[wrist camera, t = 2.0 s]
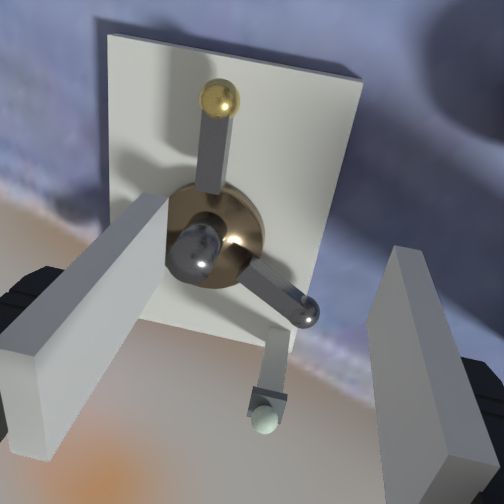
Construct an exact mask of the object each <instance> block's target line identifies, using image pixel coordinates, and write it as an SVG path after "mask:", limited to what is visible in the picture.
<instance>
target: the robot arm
mask: <svg viewBox="0 0 504 504" xmlns="http://www.w3.org/2000/svg"><path fill="white" fill-rule="evenodd" d="M168 202H169V198H168V197H163V196H158V195H153V194H149V193H144V192H143V193H142V194H141V195H140V196H139V197H138V198H137V199H136V200H135V201H134V202H133V203H132V204H131V205H130V206H129V207H128V208H127V209H126V210H125V211H124V212H123V213H122V214H121V215H120V216H119V217H118V218H117V219H116V220H115V221H114V222H113V223H112V224H111V225H110V226H109V227H108V228H107V229H106V230H105V231H104V232H103V233H102V234H101V235H100V236H99V237H98V238H97V239H96V240H95V241H94V242H93V243H92V244H91V245H90V246H89V247H88V248H87V249H86V250H85V251H84V252H83V253H82V254H81V255H80V256H79V257H78V258H77V259H76V260H75V261H74V262H73V263H72V264H71V265H70V266H69V267H68V268H67V269H66V270H62V269H58V268H54V267H49V266H45V267H43V268H41V269H39V270H37V271H34V272H32V273H30V274H28V275H26V276H24V277H23V278H22V279H21V280H20V281H18V282H17V283H16V284H15V285H14V286H13V287H12V288H10V290H9V292H8V293H7V292H6V293H5V294H4V295H3V296H1V297H0V442H1V441H2V440H3V438H4V437H5V436H6V434H7V437H8V442H9V447H10V452H11V453H14V454H18V455H22V456H26V457H30V458H33V459H37V460H41V461H46V462H49V461H50V460H51V458H52V456H53V455H54V453H55V451H56V450H57V448H58V447H59V445H60V443H61V442H62V440H63V438H64V437H65V435H66V434H67V432H68V430H69V429H70V427H71V426H72V424H73V422H74V421H75V419H76V418H77V416H78V414H79V413H80V411H81V409H82V408H83V406H84V405H85V403H86V401H87V400H88V398H89V397H90V395H91V393H92V391H93V390H94V388H95V387H96V385H97V384H98V382H99V380H100V379H101V377H102V376H103V374H104V372H105V371H106V369H107V367H108V366H109V364H110V363H111V361H112V359H113V358H114V356H115V355H116V353H117V351H118V350H119V348H120V346H121V345H122V343H123V341H124V340H125V338H126V337H127V335H128V334H129V332H130V330H131V328H132V327H133V325H134V324H135V322H136V321H137V319H138V317H139V316H140V314H141V313H142V311H143V309H144V308H145V306H146V305H147V303H148V301H149V300H150V298H151V296H152V295H153V293H154V292H155V290H156V288H157V287H158V285H159V284H160V282H161V280H162V279H163V277H164V268H165V252H166V235H167V219H168ZM366 323H367V332H368V342H369V351H370V360H371V369H372V379H373V388H374V397H375V406H376V416H377V425H378V434H379V443H380V452H381V462H382V471H383V480H384V489H385V499H386V504H504V386H503V384H502V382H501V380H500V379H499V378H498V377H497V376H496V375H495V374H494V372H493V371H492V370H491V369H490V368H489V367H488V366H487V365H486V363H485V362H482V361H477V360H473V359H468V358H464V357H460V355H459V352H458V349H457V347H456V344H455V341H454V338H453V336H452V333H451V330H450V327H449V325H448V322H447V319H446V316H445V314H444V311H443V308H442V305H441V303H440V300H439V297H438V294H437V292H436V289H435V286H434V283H433V281H432V278H431V275H430V272H429V270H428V267H427V264H426V261H425V259H424V256H423V253H422V251H421V250H416V249H411V248H406V247H402V246H397V245H394V247H393V250H392V252H391V255H390V258H389V260H388V263H387V266H386V269H385V271H384V274H383V277H382V279H381V282H380V285H379V288H378V290H377V293H376V296H375V298H374V301H373V304H372V307H371V309H370V312H369V315H368V317H367V320H366Z"/></svg>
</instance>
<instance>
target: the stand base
mask: <svg viewBox="0 0 504 504" xmlns="http://www.w3.org/2000/svg"><path fill="white" fill-rule="evenodd" d="M107 42H108V113H109V184H110V225H111V224H112V223H113V222H114V221H115V220H116V219H117V218H118V217H119V216H120V215H121V214H122V213H123V212H124V211H125V210H126V209H127V208H128V207H129V206H130V205H131V204H132V203H133V202H134V201H135V200H136V199H137V198H138V197H139V196H140V195H141V194H142V193H143V192H144V193H149V194H153V195H158V196H163V197H168V198H169V197H170V195H171V194H172V193H173V192H175V191H176V190H177V189H179V188H180V187H182V186H184V185H186V184H189V183H192V182H195V179H196V168H197V158H198V147H199V136H200V125H201V114H202V110H201V108H200V105H199V94H200V91H201V89H202V87H203V86H204V85H205V84H206V83H207V82H208V81H210V80H212V79H215V78H223V79H227V80H229V81H230V82H232V83H233V84H234V85H235V86H236V87H237V89H238V91H239V94H240V107H239V110H238V112H237V113H236V115H235V116H234V118H233V126H232V134H231V141H230V149H229V157H228V164H227V172H226V180H225V184H227V185H229V186H232V187H233V188H235V189H237V190H239V191H240V192H242V193H243V194H244V195H246V196H247V197H248V198H249V199H250V200H251V201H252V203H253V204H254V205H255V206H256V208H257V209H258V211H259V213H260V215H261V217H262V220H263V223H264V228H265V242H264V247H263V250H262V254H261V257H260V259H261V260H262V261H263V262H265V263H266V264H267V265H268V266H270V267H271V268H272V269H273V270H275V271H276V272H277V273H279V274H280V275H281V276H282V277H284V278H285V279H286V280H287V281H289V282H290V283H291V284H293V285H294V286H295V287H296V288H298V289H299V290H300V291H301V292H303V293H304V294H305V295H306V296H307V292H308V288H309V285H310V281H311V277H312V273H313V270H314V266H315V262H316V259H317V255H318V251H319V247H320V244H321V240H322V236H323V233H324V229H325V225H326V221H327V218H328V214H329V210H330V207H331V203H332V199H333V195H334V192H335V188H336V184H337V181H338V177H339V173H340V169H341V166H342V162H343V158H344V155H345V151H346V147H347V143H348V140H349V136H350V132H351V128H352V125H353V121H354V117H355V114H356V110H357V106H358V102H359V99H360V95H361V91H362V88H363V84H364V82H363V80H362V79H358V78H353V77H348V76H342V75H337V74H332V73H326V72H321V71H316V70H310V69H305V68H300V67H294V66H289V65H284V64H279V63H273V62H268V61H263V60H257V59H252V58H247V57H241V56H236V55H231V54H225V53H220V52H215V51H209V50H204V49H199V48H194V47H188V46H183V45H178V44H172V43H167V42H162V41H156V40H151V39H146V38H140V37H135V36H130V35H124V34H119V33H115V34H108V35H107ZM138 318H140V319H145V320H149V321H154V322H158V323H162V324H167V325H171V326H176V327H180V328H184V329H189V330H193V331H198V332H202V333H206V334H211V335H215V336H219V337H224V338H228V339H233V340H237V341H241V342H246V343H250V344H255V345H259V346H263V347H265V349H264V354H263V359H262V365H261V369H260V374H259V379H258V384H257V387H254V386H253V390H252V395H251V399H250V404H249V408H248V413H247V416H248V417H251V423H252V426H253V428H254V429H255V430H256V431H257V432H259V433H261V434H268V433H271V432H272V431H274V429H275V428H276V427H277V424H280V423H281V420H282V416H283V413H284V409H285V405H286V402H287V394H284V393H283V388H284V380H285V372H286V364H287V356H288V352H290V353H291V352H292V348H293V344H294V340H295V337H296V333H297V329H298V328H297V327H295V326H294V325H292V324H291V323H290V321H289V320H288V319H286V318H285V317H284V316H282V315H281V314H280V313H279V312H277V311H276V310H275V309H273V308H272V307H271V306H269V305H268V304H267V303H265V302H264V301H263V300H262V299H260V298H259V297H258V296H256V295H255V294H254V293H252V292H251V291H250V290H248V289H247V288H246V287H245V286H243V285H242V284H241V283H238V284H236V285H234V286H231V287H227V288H222V289H207V288H201V287H198V286H194V285H192V284H187V283H183V282H181V281H179V280H177V279H176V278H175V277H174V276H173V275H172V274H171V273H170V272H169V270H168V268H167V267H166V266H165V268H164V277H163V279H162V280H161V282H160V284H159V285H158V287H157V288H156V290H155V292H154V293H153V295H152V296H151V298H150V300H149V301H148V303H147V305H146V306H145V308H144V309H143V311H142V313H141V314H140V316H139V317H138Z"/></svg>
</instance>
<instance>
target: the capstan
mask: <svg viewBox="0 0 504 504" xmlns="http://www.w3.org/2000/svg"><path fill="white" fill-rule="evenodd" d="M199 105H200V108H201V110H202V114H201V125H200V136H199V147H198V158H197V168H196V179H195V182H192V183H189V184H186V185H184V186H182V187H180V188H179V189H177V190H176V191H175V192H173V193H172V194H171V195H170V197H169V202H168V219H167V235H166V252H165V266H166V267H167V268H168V270H169V272H170V273H171V274H172V275H173V276H174V277H175V278H176V279H177V280H179V281H181V282H183V283H187V284H192V285H194V286H198V287H201V288H207V289H222V288H227V287H231V286H234V285H236V284H238V283H241V284H242V285H243V286H245V287H246V288H247V289H248V290H250V291H251V292H252V293H254V294H255V295H256V296H258V297H259V298H260V299H262V300H263V301H264V302H265V303H267V304H268V305H269V306H271V307H272V308H273V309H275V310H276V311H277V312H279V313H280V314H281V315H282V316H284V317H285V318H286V319H288V320H289V321H290V323H291V324H292V325H294V326H295V327H297V328H301V329H306V328H310V327H312V326H313V325H314V324H315V323H316V322H317V321H318V319H319V316H320V309H319V306H318V304H317V302H316V301H315V300H314V299H313V298H311V297H309V296H306V295H305V294H304V293H303V292H301V291H300V290H299V289H298V288H296V287H295V286H294V285H293V284H291V283H290V282H289V281H287V280H286V279H285V278H284V277H282V276H281V275H280V274H279V273H277V272H276V271H275V270H273V269H272V268H271V267H270V266H268V265H267V264H266V263H265V262H263V261H262V260H261V259H260V257H261V254H262V250H263V247H264V242H265V228H264V223H263V220H262V217H261V215H260V213H259V211H258V209H257V208H256V206H255V205H254V204H253V203H252V201H251V200H250V199H249V198H248V197H247V196H246V195H244V194H243V193H242V192H240V191H239V190H237V189H235V188H233V187H232V186H229V185H227V184H225V180H226V172H227V164H228V157H229V149H230V141H231V134H232V126H233V118H234V116H235V115H236V113H237V112H238V110H239V107H240V94H239V91H238V89H237V87H236V86H235V85H234V84H233V83H232V82H230V81H229V80H227V79H223V78H215V79H212V80H210V81H208V82H207V83H206V84H205V85H204V86H203V87H202V89H201V91H200V94H199Z"/></svg>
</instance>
